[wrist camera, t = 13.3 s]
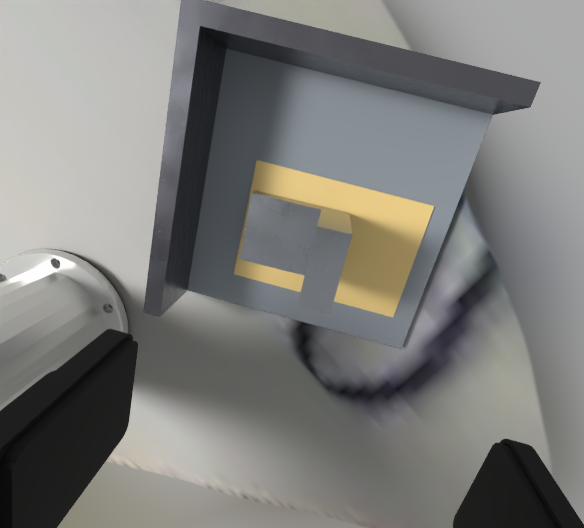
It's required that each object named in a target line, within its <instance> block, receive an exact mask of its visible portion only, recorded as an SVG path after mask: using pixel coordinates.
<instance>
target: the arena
mask: <svg viewBox="0 0 584 528" xmlns="http://www.w3.org/2000/svg"><path fill="white" fill-rule="evenodd" d="M539 85H540V82H537V81H533V80H528V79H524V78H520V77H516V76H512V75H508V74H504V73H500V72H496V71H491V70H487V69H483V68H479V67H475V66H471V65H467V64H463V63H459V62H455V61H450V60H446V59H442V58H438V57H434V56H430V55H426V54H422V53H418V52H414V51H410V50H406V49H401V48H397V47H393V46H389V45H385V44H381V43H377V42H373V41H369V40H364V39H360V38H356V37H352V36H348V35H344V34H340V33H336V32H332V31H328V30H323V29H319V28H315V27H311V26H307V25H303V24H299V23H295V22H291V21H286V20H282V19H278V18H274V17H270V16H266V15H262V14H258V13H254V12H250V11H245V10H241V9H237V8H233V7H229V6H225V5H221V4H217V3H213V2H209V1H204V0H181V6H180V14H179V22H178V30H177V39H176V47H175V55H174V64H173V72H172V80H171V89H170V97H169V105H168V113H167V122H166V130H165V138H164V147H163V155H162V163H161V171H160V180H159V188H158V196H157V205H156V213H155V221H154V229H153V238H152V246H151V254H150V263H149V271H148V279H147V287H146V296H145V304H144V312H145V313H149V314H152V315H156V316H159V317H160V316H161V315H162V314H163V313H164V312H165V311H166V310H167V309H168V308H170V307H171V306H172V305H173V304H174V303H175V302H176V301H177V300H178V299H179V298H180V297H181V296H182V295H183V294H184V293H185V292H186V291H187V290H189V291H192V292H196V293H200V294H203V295H207V296H211V297H214V298H218V299H221V300H225V301H229V302H232V303H236V304H240V305H243V306H247V307H250V308H254V309H258V310H261V311H265V312H269V313H272V314H276V315H279V316H283V317H287V318H290V319H294V320H298V321H301V322H305V323H308V324H312V325H316V326H319V327H323V328H327V329H330V330H334V331H337V332H341V333H345V334H348V335H352V336H356V337H359V338H363V339H366V340H370V341H374V342H377V343H381V344H385V345H388V346H392V347H395V348H399V349H401V348H402V346H403V343H404V340H405V338H406V335H407V333H408V330H409V328H410V325H411V323H412V320H413V317H414V315H415V312H416V310H417V307H418V305H419V302H420V300H421V297H422V294H423V292H424V289H425V287H426V284H427V282H428V279H429V276H430V274H431V271H432V269H433V266H434V264H435V261H436V259H437V256H438V253H439V251H440V248H441V246H442V243H443V241H444V238H445V235H446V233H447V230H448V228H449V225H450V223H451V220H452V218H453V215H454V212H455V210H456V207H457V205H458V202H459V200H460V197H461V195H462V192H463V189H464V187H465V184H466V182H467V179H468V176H469V174H470V171H471V169H472V166H473V164H474V161H475V159H476V156H477V153H478V151H479V148H480V146H481V143H482V141H483V138H484V135H485V133H486V130H487V128H488V125H489V123H490V120H491V118H492V115H494V114H499V113H504V112H509V111H514V110H519V109H524V108H529V107H531V104H532V102H533V100H534V97H535V95H536V92H537V90H538V87H539ZM256 190H257V191H261V192H265V193H269V194H273V195H277V196H281V197H286V198H290V199H294V200H298V201H302V202H306V203H310V204H315V205H319V206H323V207H327V208H331V209H335V210H339V211H344V212H348V213H349V215H350V222H351V228H352V238H351V242H350V245H349V249H348V252H347V256H346V260H345V263H344V267H343V270H342V274H341V277H340V281H339V284H338V288H337V291H336V295H335V298H334V302H333V306H332V309H331V313H330V315H328V314H324V313H320V312H316V311H313V310H309V309H305V308H301V307H297V305H298V301H299V297H300V293H301V289H302V285H303V280H304V275H300V274H296V273H292V272H288V271H284V270H280V269H276V268H272V267H268V266H264V265H260V264H256V263H252V262H248V261H244V260H240V253H241V248H242V242H243V237H244V232H245V226H246V221H247V215H248V210H249V204H250V199H251V193H252V192H254V191H256Z"/></svg>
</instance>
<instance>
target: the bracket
mask: <svg viewBox="0 0 584 528" xmlns="http://www.w3.org/2000/svg"><path fill="white" fill-rule="evenodd" d="M351 238H352V228H351V222H350V215H349V213H348V212H344V211H339V210H335V209H331V208H327V207H323V206H319V205H315V204H310V203H306V202H302V201H298V200H294V199H290V198H286V197H281V196H277V195H273V194H269V193H265V192H261V191H257V190H256V191H254V192H252V193H251V199H250V204H249V210H248V215H247V221H246V226H245V232H244V237H243V242H242V248H241V253H240V260H244V261H248V262H252V263H256V264H260V265H264V266H268V267H272V268H276V269H280V270H284V271H288V272H292V273H296V274H300V275H304V280H303V285H302V289H301V293H300V297H299V301H298V305H297V307H301V308H305V309H309V310H313V311H316V312H320V313H324V314H328V315H330V313H331V309H332V306H333V302H334V298H335V295H336V291H337V288H338V284H339V281H340V277H341V274H342V270H343V267H344V263H345V260H346V256H347V252H348V249H349V245H350V242H351Z"/></svg>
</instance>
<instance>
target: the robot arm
mask: <svg viewBox="0 0 584 528" xmlns="http://www.w3.org/2000/svg"><path fill="white" fill-rule="evenodd" d="M137 350H138V343H137V342H135V341H133V337H132V335H131V334H128V321H127V316H126V312H125V309H124V305H123V303H122V301H121V299H120V297H119V295H118V293H117V292H116V290H115V289H114V287H113V286H112V285H111V283H110V282H109V281H108V280H107V279H106V278H105V277H104V276H103V275H102V274H101V273H100V272H99V271H98V270H97V269H96V268H94V267H93V266H92V265H90V264H89V263H88V262H86V261H84V260H82V259H80V258H79V257H77V256H75V255H72V254H69V253H66V252H63V251H59V250H51V249H38V250H32V251H28V252H25V253H21V254H19V255H17V256H14V257H12V258H10V259H8V260H7V261H6V262H4V263H3V264H2V265H1V266H0V528H57V527H58V525H59V524H60V523H61V521H62V520H63V518H64V517H65V516H66V514H67V513H68V512H69V510H70V509H71V507H72V506H73V505H74V503H75V502H76V501H77V499H78V498H79V497H80V495H81V494H82V493H83V491H84V490H85V488H86V487H87V486H88V484H89V483H90V482H91V480H92V479H93V477H94V476H95V475H96V473H97V472H98V471H99V469H100V468H101V467H102V465H103V464H104V462H105V461H106V460H107V458H108V457H109V456H110V454H111V453H112V452H113V450H114V449H115V447H116V446H117V445H118V443H119V442H120V441H121V439H122V438H123V436H124V434H125V432H126V430H127V427H128V423H129V415H130V407H131V399H132V391H133V383H134V374H135V366H136V358H137ZM453 528H584V524H583V523H582V521H581V520H580V518H579V517H578V515H577V514H576V512H575V511H574V509H573V508H572V506H571V505H570V503H569V501H568V500H567V498H566V497H565V495H564V494H563V493H562V491H561V489H560V488H559V486H558V485H557V484H556V482H555V480H554V479H553V477H552V476H551V474H550V472H549V471H548V469H547V468H546V466H545V465H544V463H543V462H542V460H541V459H540V457H539V456H538V454H537V453H536V451H535V450H534V449H533V447H532V446H530V445H527V444H524V443H520V442H517V441H513V440H509V439H503V440H502V441H501V442H500V443H495V444H494V445H493V446H492V448H491V450H490V452H489V453H488V455H487V457H486V459H485V461H484V463H483V465H482V467H481V468H480V470H479V472H478V474H477V476H476V478H475V480H474V482H473V483H472V485H471V487H470V489H469V491H468V493H467V495H466V496H465V498H464V500H463V502H462V504H461V506H460V508H459V510H458V511H457V513H456V515H455V518H454V522H453Z"/></svg>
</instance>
